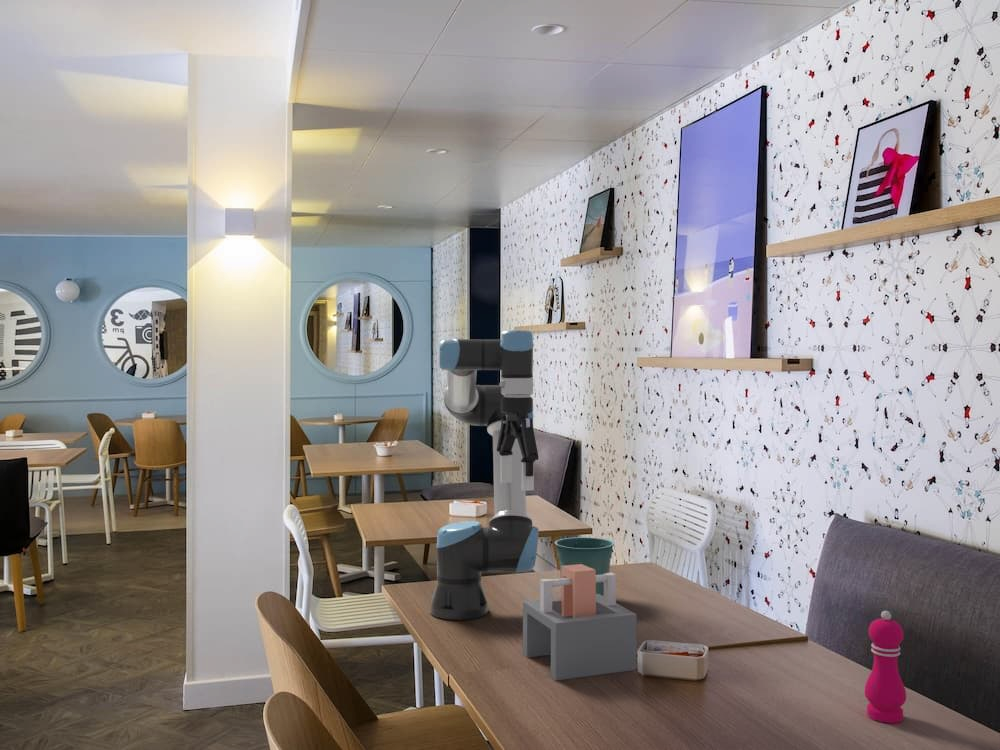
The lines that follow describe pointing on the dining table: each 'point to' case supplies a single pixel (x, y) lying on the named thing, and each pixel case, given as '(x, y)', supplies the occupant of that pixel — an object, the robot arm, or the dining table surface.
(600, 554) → the flower pot
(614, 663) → the gray square frame
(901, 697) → the pepper mill
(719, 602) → the dining table surface
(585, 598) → the coral u-channel block
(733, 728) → the dining table surface
